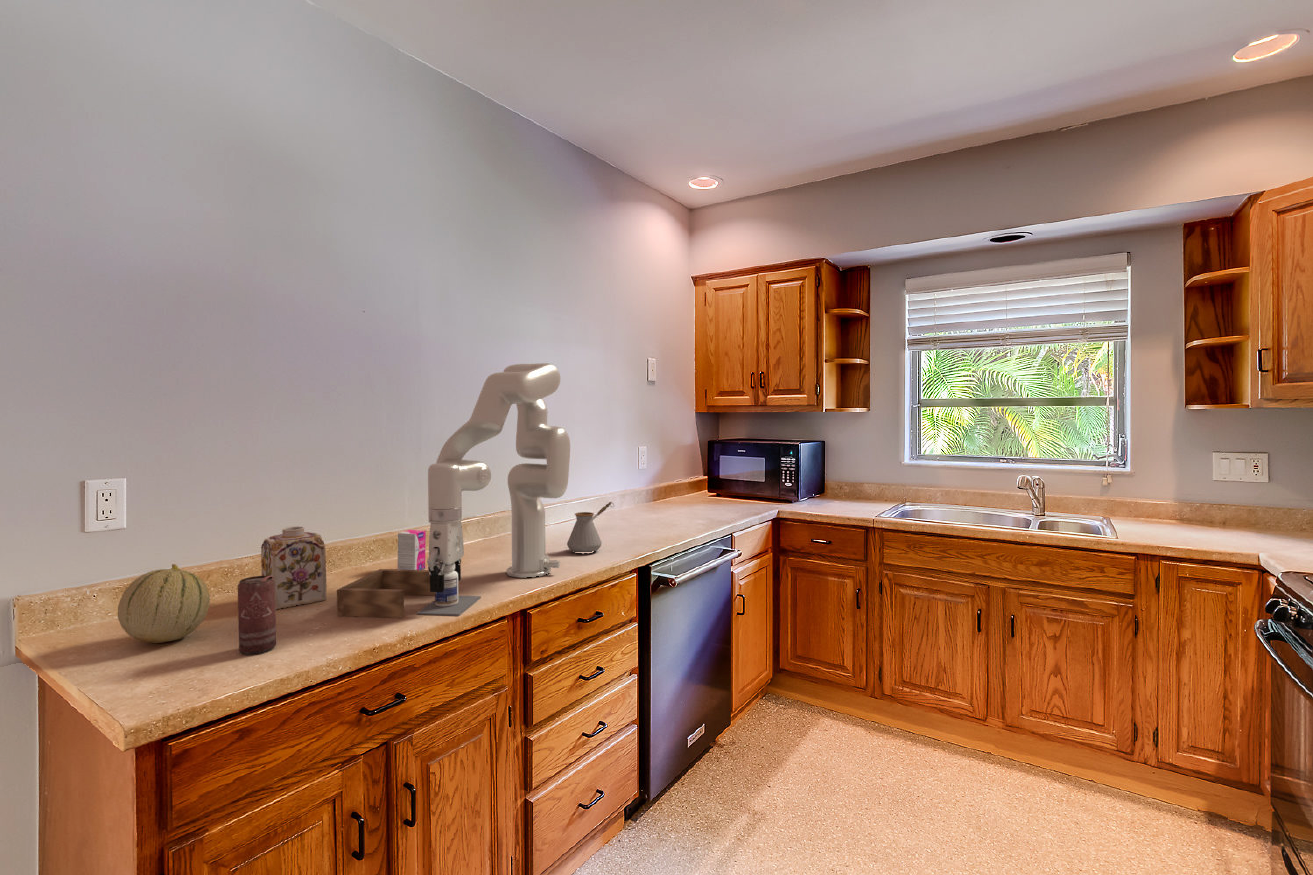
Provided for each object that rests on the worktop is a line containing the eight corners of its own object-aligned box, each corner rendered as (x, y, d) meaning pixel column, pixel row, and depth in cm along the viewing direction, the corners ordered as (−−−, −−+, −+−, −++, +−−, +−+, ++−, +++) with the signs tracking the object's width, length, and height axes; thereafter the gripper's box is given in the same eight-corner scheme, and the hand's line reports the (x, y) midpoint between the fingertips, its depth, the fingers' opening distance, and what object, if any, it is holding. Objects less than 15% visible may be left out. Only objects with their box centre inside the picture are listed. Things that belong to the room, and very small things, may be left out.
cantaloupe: (105, 659, 118) (103, 579, 117) (134, 633, 131) (131, 562, 131) (200, 647, 124) (198, 572, 123) (218, 624, 137) (217, 556, 136)
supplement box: (415, 573, 181) (414, 533, 180) (396, 572, 182) (396, 532, 182) (426, 568, 187) (426, 530, 186) (408, 567, 188) (408, 529, 187)
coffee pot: (587, 557, 201) (587, 510, 201) (559, 552, 207) (559, 507, 207) (625, 545, 219) (625, 502, 219) (599, 541, 225) (599, 500, 225)
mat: (481, 597, 157) (481, 596, 157) (459, 615, 143) (459, 614, 143) (442, 596, 158) (442, 595, 158) (416, 614, 144) (416, 612, 144)
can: (284, 645, 125) (283, 575, 124) (254, 657, 119) (253, 584, 118) (262, 641, 127) (260, 573, 126) (231, 653, 121) (229, 581, 120)
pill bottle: (438, 600, 153) (437, 561, 153) (460, 600, 154) (460, 560, 153) (432, 607, 148) (431, 566, 147) (455, 606, 148) (455, 566, 148)
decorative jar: (313, 590, 163) (312, 522, 162) (328, 600, 155) (326, 527, 154) (260, 600, 155) (258, 527, 154) (272, 611, 146) (271, 534, 146)
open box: (436, 593, 160) (436, 570, 160) (400, 617, 142) (400, 591, 141) (380, 592, 162) (380, 569, 161) (337, 615, 143) (336, 589, 143)
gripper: (445, 521, 141) (446, 596, 141) (473, 509, 158) (474, 576, 159) (413, 520, 141) (414, 596, 142) (444, 509, 159) (445, 576, 159)
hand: (445, 585), depth 150 cm, fingers open, 9 cm apart
